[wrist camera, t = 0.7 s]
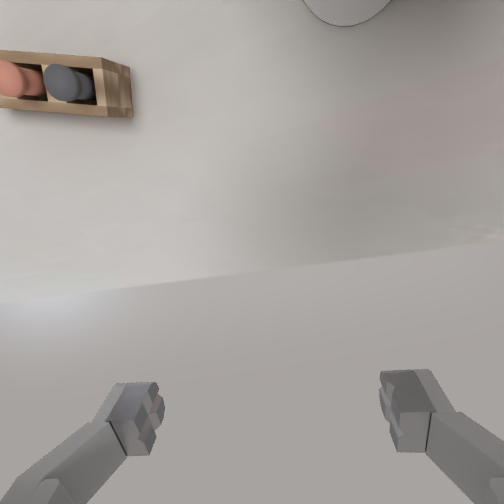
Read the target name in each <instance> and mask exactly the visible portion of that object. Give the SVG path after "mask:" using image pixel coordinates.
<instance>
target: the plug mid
mask: <svg viewBox="0 0 504 504" xmlns="http://www.w3.org/2000/svg"><path fill="white" fill-rule="evenodd" d="M0 94H2V95H4V96H7V97H20V96H22V95H32V96H42V97H47V92H46V87H45V85H44V80H43V72H41V71H37V70H32V69H27V68H22V67H18V66H17V65H16V64H14V63H12V62H10V61H5V60H0Z"/></svg>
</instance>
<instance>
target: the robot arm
mask: <svg viewBox="0 0 504 504" xmlns="http://www.w3.org/2000/svg"><path fill="white" fill-rule="evenodd" d="M304 1H305V3H306V5H307V6H308V8H309V9H310V10H311V11H312V12H313V13H314V14H315V15H316V16H317V17H318V18H320V19H321V20H323V21H325V22H327V23H329V24H332V25H337V26H351V25H356V24H359V23H362V22H364V21H366V20H368V19H370V18H372V17H373V16H375V15H376V14H377V13H378V12H380V11H381V10H382V9H383V8H384V7H385V6H386V5H387V4H388V2H389V1H390V0H304ZM380 381H381V384H382V387H381V388H380V389H379V392H380V393H379V394H380V403H381V407H382V411H383V414H384V417H385V419H386V420H387V421H388V422H389V423H390V434H391V437H392V439H393V442H394V445H395V448H396V450H397V452H417V453H418V452H419V453H426V455H427V456H428V457H429V458H430V459H431V460H432V461H433V462H434V463H435V464H436V465H437V466H438V467H439V468H440V469H441V470H442V471H443V472H444V473H445V474H446V475H447V476H448V477H449V478H450V479H451V480H452V481H453V482H454V483H455V484H456V485H457V486H458V487H459V488H460V489H461V491H463V493H464V494H465V495H466V496H467V497H468V498H469V499H470V500H471V501H472V502H473V503H474V504H504V441H502V440H501V439H500V438H498V437H497V436H495V435H494V434H492V433H491V432H489V431H488V430H487V429H485V428H484V427H482V426H481V425H479V424H478V423H476V422H475V421H474V420H472V419H471V418H469V417H468V416H466V415H465V414H463V413H462V412H456V411H455V409H454V408H453V406H452V405H451V403H450V401H449V400H448V398H447V396H446V395H445V393H444V392H443V390H442V388H441V387H440V385H439V383H438V382H437V380H436V379H435V377H434V375H433V374H432V372H431V371H430V370H429V369H415V370H394V371H381V373H380ZM158 390H159V388H158V385H157V383H155V382H140V383H138V382H136V383H117V384H116V385H114V386H113V388H112V389H111V391H110V393H109V394H108V396H107V397H106V399H105V401H104V402H103V404H102V406H101V407H100V409H99V411H98V412H97V414H96V416H95V417H94V419H93V420H92V422H91V423H86V424H85V425H84V426H83V427H81V428H80V429H79V430H77V431H76V432H75V433H74V434H72V435H71V436H70V437H68V438H67V439H66V440H65V441H63V442H62V443H61V444H60V445H58V446H57V447H56V448H54V449H53V450H52V451H51V452H49V453H48V454H47V455H46V456H44V457H43V458H42V459H40V460H39V461H38V462H37V463H35V464H34V465H33V466H31V467H30V468H29V469H28V470H26V471H25V472H24V473H22V474H21V475H20V476H19V477H18V478H17V479H16V480H15V482H14V483H13V484H12V486H11V487H10V488H9V490H8V491H7V493H6V494H5V495H4V497H3V498H2V500H1V501H0V504H86V503H87V502H88V501H89V500H90V499H91V498H92V497H93V496H94V494H95V493H96V492H97V491H98V490H99V489H100V488H101V486H102V485H103V484H104V483H105V481H107V480H108V479H109V477H110V476H111V475H112V474H113V473H114V472H115V470H116V469H117V468H118V467H119V466H120V465H121V464H122V463H123V461H124V460H125V459H126V458H127V457H126V456H143V455H150V452H151V450H152V447H153V444H154V442H155V439H156V433H155V430H156V429H157V428H158V427H159V426H160V425H161V423H162V420H163V418H164V410H165V406H164V401H163V398H162V397H161V396H159V394H157V393H158Z"/></svg>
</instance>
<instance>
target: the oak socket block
mask: <svg viewBox="0 0 504 504" xmlns="http://www.w3.org/2000/svg"><path fill="white" fill-rule="evenodd" d="M0 60H5V61H10V62H12V63H14V64H16V65H17V66H18V67H22V68H27V69H32V70H37V71H41V72H43V75H44V71H45V69H46V68H47V67H48V66H49V65H51V64H60V65H64V66H67V67H69V68H70V69H72V70H73V71H74V72H78V73H82V74H87V75H91V76H94V82H95V90H96V98H97V101H92V100H82V99H75V100H74V101H70V102H67V101H60V100H57V99H55V98H54V97H52V96H51V95H50V94H49V92H48V91H47V89H46V92H47V97H42V96H32V95H22V96H20V97H7V96H4V95H2V94H0V108H8V109H20V110H33V111H45V112H57V113H69V114H81V115H93V116H105V117H133V108H132V96H131V84H130V72H129V67H127V66H124V65H121V64H118V63H115V62H113V61H110V60H107V59H104V58H101V57H89V56H75V55H62V54H48V53H35V52H21V51H8V50H0Z"/></svg>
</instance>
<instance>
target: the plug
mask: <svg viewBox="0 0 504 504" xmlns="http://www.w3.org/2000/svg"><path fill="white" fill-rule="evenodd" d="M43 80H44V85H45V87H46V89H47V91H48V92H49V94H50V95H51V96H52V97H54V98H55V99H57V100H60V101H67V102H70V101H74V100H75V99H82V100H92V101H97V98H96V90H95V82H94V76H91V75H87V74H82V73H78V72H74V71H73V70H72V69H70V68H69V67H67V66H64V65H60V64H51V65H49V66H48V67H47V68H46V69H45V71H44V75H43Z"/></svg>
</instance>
